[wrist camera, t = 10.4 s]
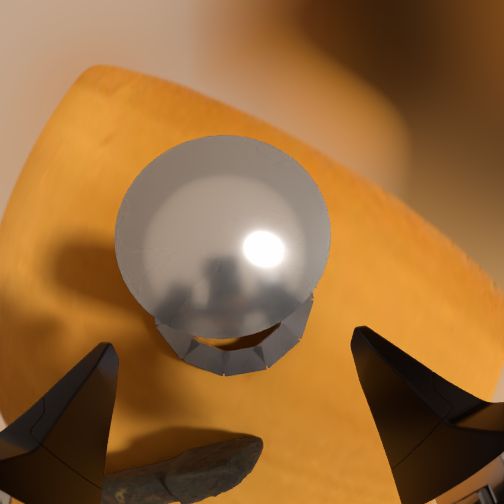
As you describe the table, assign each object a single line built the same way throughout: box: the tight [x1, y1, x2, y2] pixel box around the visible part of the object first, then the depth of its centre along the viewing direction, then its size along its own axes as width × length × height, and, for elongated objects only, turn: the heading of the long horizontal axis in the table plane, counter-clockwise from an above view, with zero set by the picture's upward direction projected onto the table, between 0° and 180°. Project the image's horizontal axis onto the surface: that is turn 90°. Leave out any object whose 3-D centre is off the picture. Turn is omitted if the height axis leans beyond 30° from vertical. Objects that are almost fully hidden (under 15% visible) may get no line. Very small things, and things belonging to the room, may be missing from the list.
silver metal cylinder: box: [115, 135, 331, 339], centre depth 12 cm, size 5×5×13 cm
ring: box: [154, 293, 313, 376], centre depth 18 cm, size 10×10×2 cm
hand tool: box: [101, 437, 263, 504], centre depth 12 cm, size 19×4×5 cm, turn 116°
